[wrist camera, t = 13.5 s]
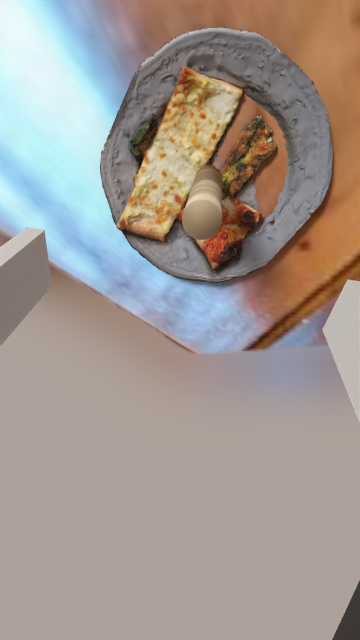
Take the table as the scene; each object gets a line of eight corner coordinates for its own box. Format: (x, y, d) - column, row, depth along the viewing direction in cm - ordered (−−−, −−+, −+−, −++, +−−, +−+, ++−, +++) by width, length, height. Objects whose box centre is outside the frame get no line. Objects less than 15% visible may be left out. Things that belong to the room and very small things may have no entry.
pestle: (197, 163, 34) (185, 197, 23) (225, 168, 34) (225, 204, 23) (192, 192, 36) (179, 236, 25) (219, 197, 36) (216, 242, 25)
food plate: (225, 303, 47) (225, 316, 44) (78, 211, 41) (68, 220, 38) (371, 138, 34) (385, 142, 31) (186, -29, 28) (182, -44, 25)
